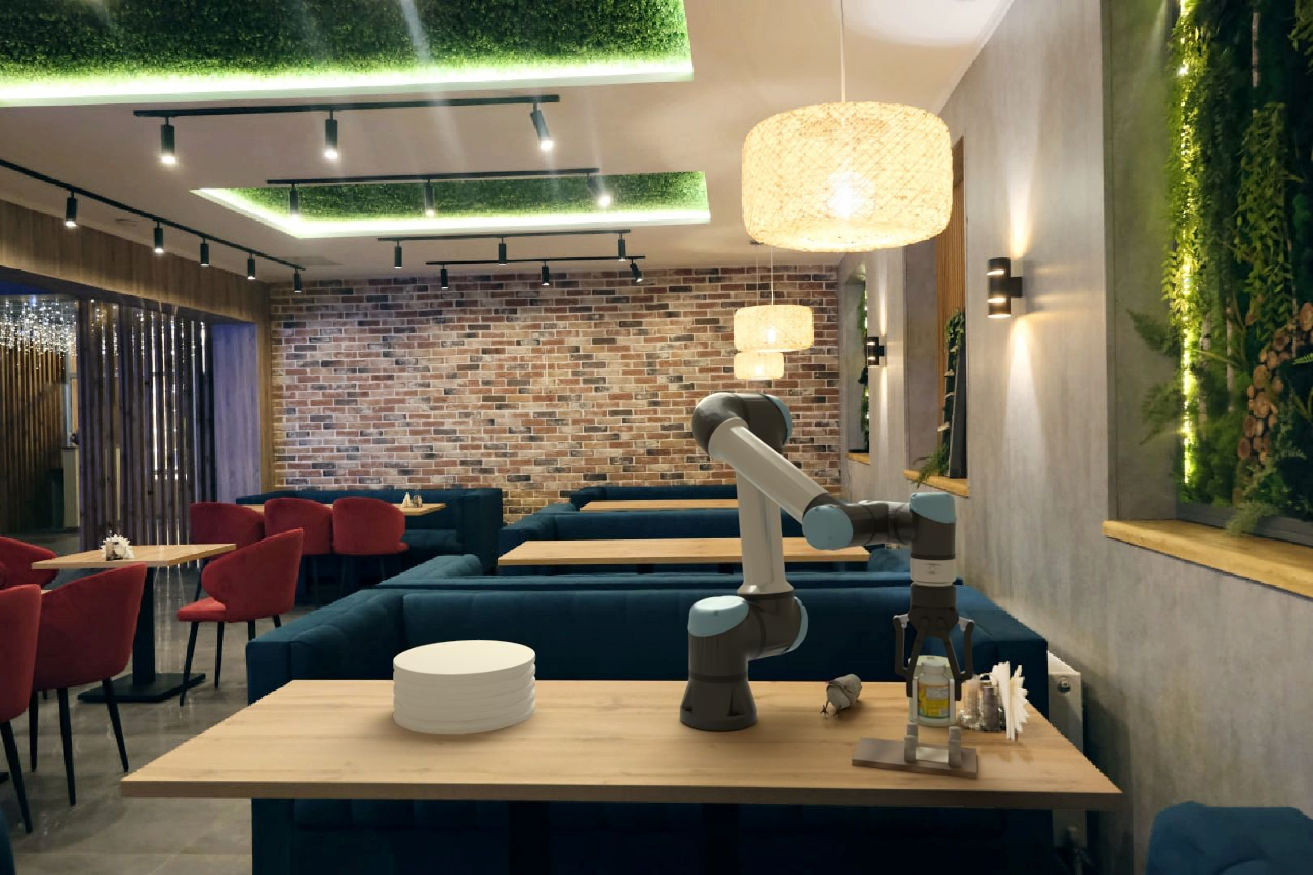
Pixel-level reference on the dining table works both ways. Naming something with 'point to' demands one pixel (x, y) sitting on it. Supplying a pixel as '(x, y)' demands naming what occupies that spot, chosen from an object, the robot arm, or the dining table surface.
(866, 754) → the pin nest
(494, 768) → the dining table surface
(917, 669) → the can
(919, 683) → the supplement bottle
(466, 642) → the plate stack
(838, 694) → the decorative bird
